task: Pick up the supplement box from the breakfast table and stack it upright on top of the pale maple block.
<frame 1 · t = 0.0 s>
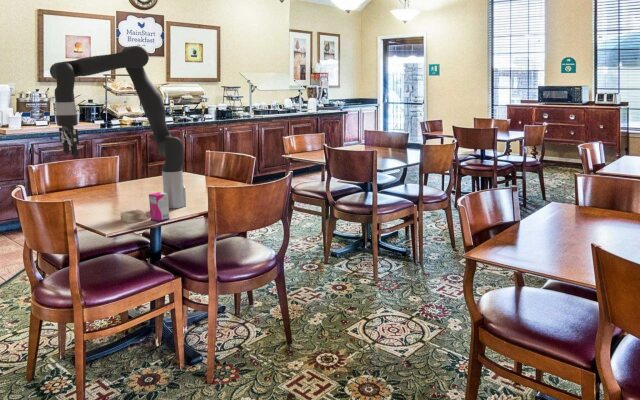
hand: (70, 154, 220), 29 cm above the table, fingers open, 8 cm apart
maple block: (134, 220, 233), on the table
supplement box: (160, 220, 232), on the table
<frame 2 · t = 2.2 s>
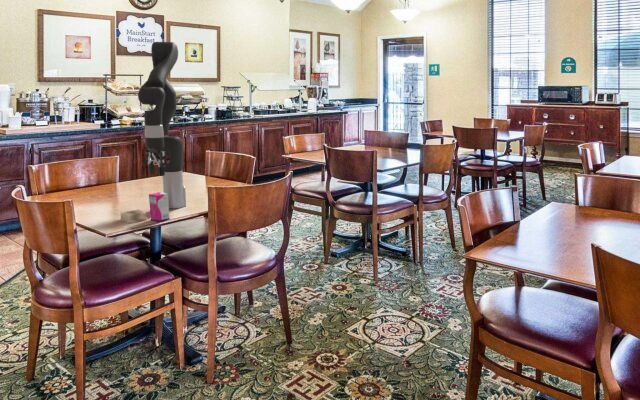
hand: (156, 174, 228), 20 cm above the table, fingers open, 8 cm apart
nothing on the table moved.
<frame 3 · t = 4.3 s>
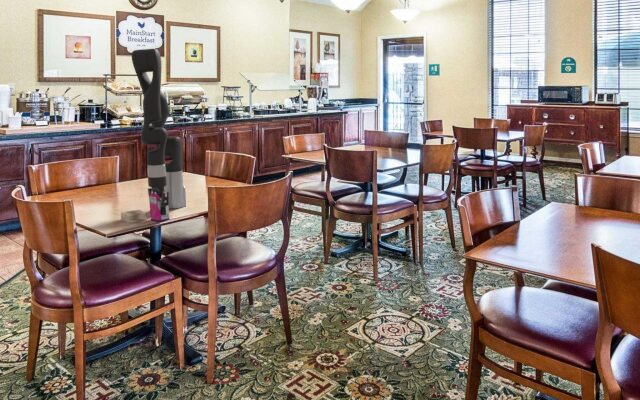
hand: (159, 213, 232), 3 cm above the table, fingers closed on supplement box, 6 cm apart
supplement box: (160, 220, 232), on the table, touching gripper
everything else where it was.
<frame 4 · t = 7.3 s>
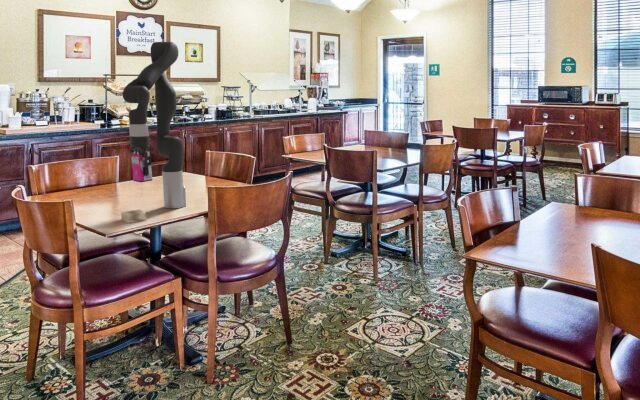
hand: (142, 174, 228), 20 cm above the table, fingers closed on supplement box, 6 cm apart
supplement box: (142, 181, 229), point 17 cm above the table, touching gripper
everything else where it was.
when the fingers open (8 cm above the table, at t = 10.5 s): supplement box drops 2 cm, point 3 cm above the table.
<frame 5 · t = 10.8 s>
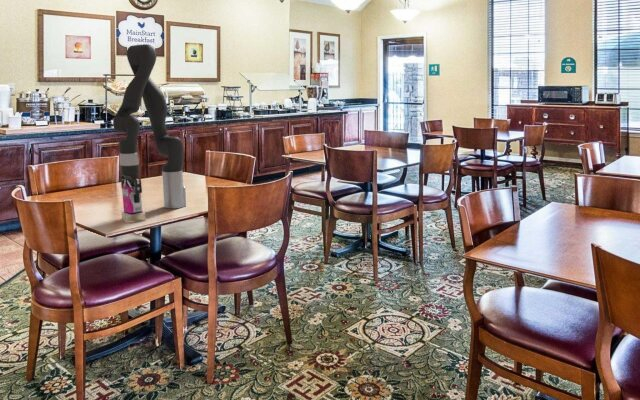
hand: (132, 201, 231), 8 cm above the table, fingers open, 8 cm apart
supplement box: (133, 212, 232), point 3 cm above the table
everything else where it was.
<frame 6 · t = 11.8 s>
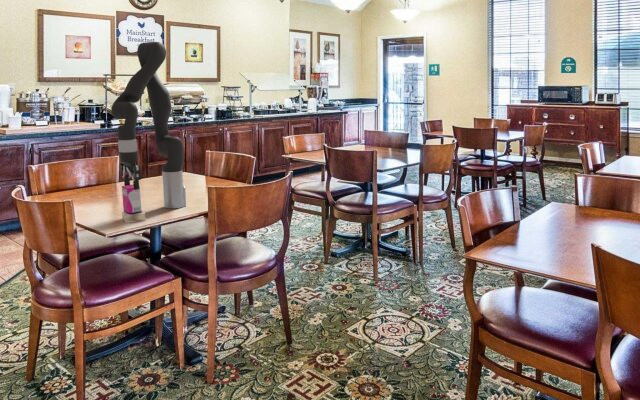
hand: (132, 188, 230), 14 cm above the table, fingers open, 8 cm apart
nothing on the table moved.
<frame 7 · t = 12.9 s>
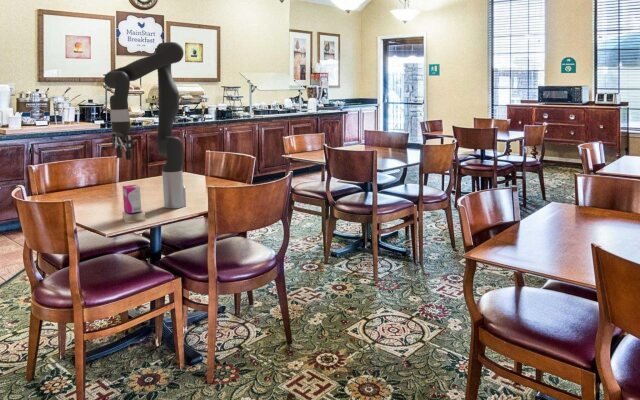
hand: (123, 158, 230), 26 cm above the table, fingers open, 8 cm apart
nothing on the table moved.
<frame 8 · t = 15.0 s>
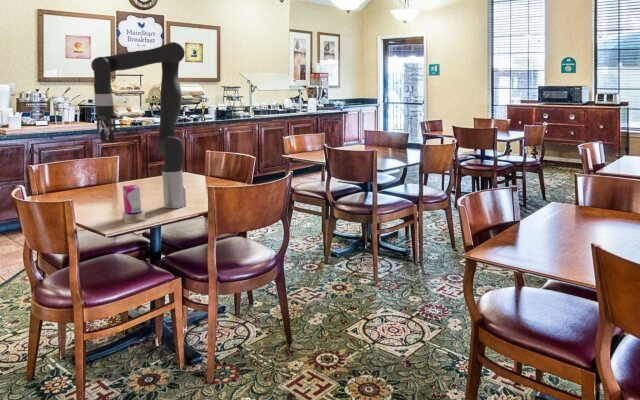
hand: (107, 142, 238), 32 cm above the table, fingers open, 8 cm apart
nothing on the table moved.
at the end: supplement box 0.5 cm off-centre on the maple block, point 3.4 cm above the maple block's base; supplement box tilted 2°; the gripper is holding nothing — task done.
